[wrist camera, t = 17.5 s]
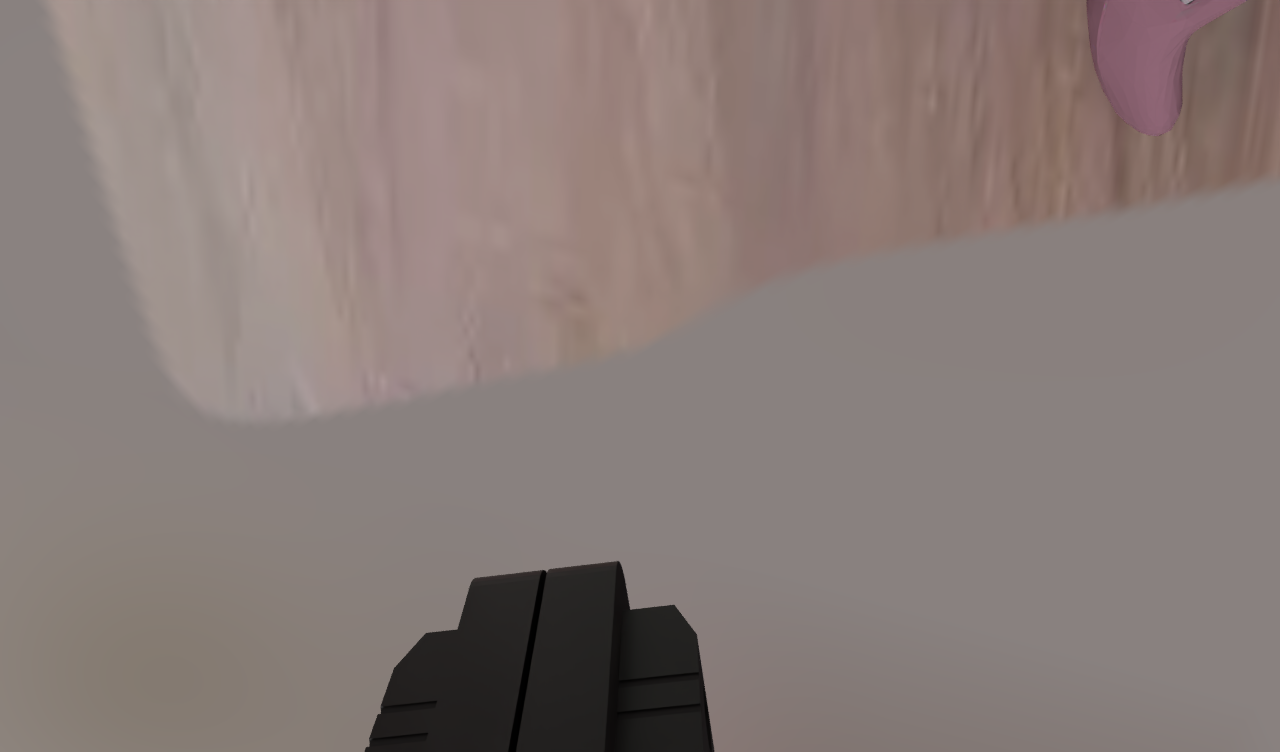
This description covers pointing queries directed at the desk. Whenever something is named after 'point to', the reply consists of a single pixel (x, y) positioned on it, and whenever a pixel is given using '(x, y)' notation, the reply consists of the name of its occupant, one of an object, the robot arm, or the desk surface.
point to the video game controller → (1146, 54)
